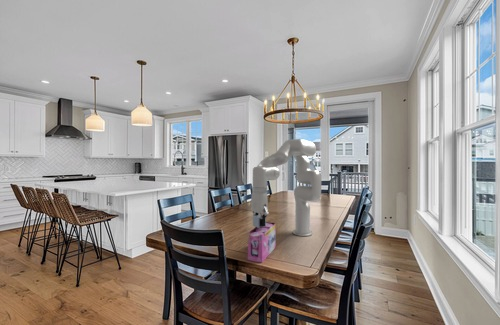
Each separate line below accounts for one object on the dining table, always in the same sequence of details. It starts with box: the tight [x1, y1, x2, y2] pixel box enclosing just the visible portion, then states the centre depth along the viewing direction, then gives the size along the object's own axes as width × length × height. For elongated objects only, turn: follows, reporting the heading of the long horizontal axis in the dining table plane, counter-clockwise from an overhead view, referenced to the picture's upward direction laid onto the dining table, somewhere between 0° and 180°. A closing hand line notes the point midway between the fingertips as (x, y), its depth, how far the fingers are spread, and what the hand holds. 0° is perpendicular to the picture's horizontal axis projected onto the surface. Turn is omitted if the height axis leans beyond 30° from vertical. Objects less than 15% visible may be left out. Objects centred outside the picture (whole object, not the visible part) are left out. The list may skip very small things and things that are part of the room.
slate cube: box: [252, 214, 267, 228], centre depth 126 cm, size 5×5×5 cm
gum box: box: [247, 221, 277, 263], centre depth 125 cm, size 24×8×14 cm, turn 157°
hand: (259, 224), depth 126 cm, fingers closed on slate cube, 4 cm apart
